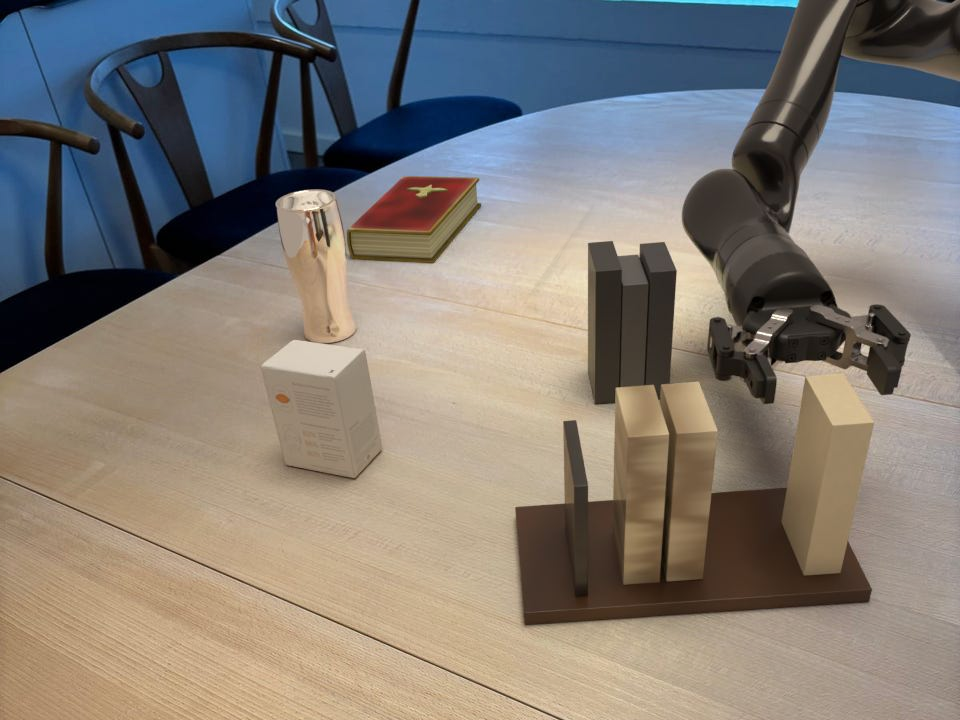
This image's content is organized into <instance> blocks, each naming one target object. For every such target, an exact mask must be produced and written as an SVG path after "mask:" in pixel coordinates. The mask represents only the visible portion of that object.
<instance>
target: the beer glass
mask: <svg viewBox="0 0 960 720" xmlns="http://www.w3.org/2000/svg"><path fill="white" fill-rule="evenodd" d="M275 208H276V217H277V223H278V231H279V237H280V242H281V243H280V244H281V248H282V251H283V252H282V253H283V255H284V259H285V261H286V265H287V268H288V271H289V273H290V276H291V279H292V281H293V283H294V286H295V289H296V291H297V294H298V297H299V299H300V304H301V308H302V313H303V335H304V337H305V339H306V340H307V341H308V342H314V343H322V344H332V343H338V342H341V341H344V340H346V339H349V338H350V337H351V336H353V335H354V334H355V332H356V330H357V326H356V322H355V319H354V316H353V314H352V312H351V308H350V305H349V300H348V291H347V290H348V286H347V284H348V283H347V282H348V281H347V279H348V274H347V273H348V272H347V271H348V269H347V268H348V267H347V266H348V265H347V263H348V260H347V258H348V257H347V244H346V243H347V242H346V235H345V230H344V225H343V220H342V216H341V212H340V208H339V203H338V200H337V194H336V193H334V192H332V191H331V190H327V189H318V188H317V189H315V188H314V189H303V190H298V191H293V192H289V193H288V194H285V195H283V196H281V197H279V198H278V199H277V200H276V201H275Z"/></svg>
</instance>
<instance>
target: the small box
mask: <svg viewBox="0 0 960 720" xmlns="http://www.w3.org/2000/svg"><path fill="white" fill-rule="evenodd" d="M260 370H261V371H260V372H261V374H262V378H263V382H264V386H265V390H266V394H267V398H268V403H269V406H270V410H271V414H272V418H273V422H274V425H275V430H276V433H277V437H278V441H279V445H280V448H281V454H282V456H283V461H284V464H285V465H286V466H290V467H295V468H301V469H304V470H309V471H310V470H311V471H315V472H320V473H324V474H330V475H336V476H341V477H345V478H346V477H347V478H350V479H356V478H357V477H358V476H359V475H360V474H361V473H362V472H363V470H364V469H365V468H366V467H367V466H368V465H369V464H370V463H371V462H372V460H374V458H375V457H376V456H377V455H379V453H380V452H381V451H382V450H383V443H382V436H381V431H380V425H379V419H378V415H377V409H376V403H375V398H374V394H373V387H372V381H371V374H370V370H369V364H368V359H367V354H366V350H365V348H357V347H349V346H342V345H335V344H330V343H315V342H312V341H308V340H299V339H292V340H291V341H290V342H288V343H287V344H285V345H284V346H283V347H282V348H281V349H279V350H278V351H277V352H276V353H274V354H273V355H272V356H271V357H269V358H268V359H267V360H266V361H265V362H263V363H262V364H260Z"/></svg>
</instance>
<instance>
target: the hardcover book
mask: <svg viewBox="0 0 960 720" xmlns="http://www.w3.org/2000/svg"><path fill="white" fill-rule="evenodd" d="M479 182H480V177H467V176H466V177H465V176H428V175H427V176H426V175H420V176H419V175H403V176H402V177H401V178H400V179H399V180H398V181H397V182H396V183H395V184H394V185H393V186H391V188H390V189H388V191H386V192H385V194H383V195H382V196H381V197H380V198H379V199H378V200H376V202H374V204H373V205H372V206H370V208H369V209H367V210H366V211H365V212H364V213H363V214H362V215H361V216H360V217H359V218H358V219H356V221H354V223H353V224H352V225H351V226H349V228H347V230H346V243H347V244H346V246H347V249H348V252H349V255H350V257H351V259H352V260H364V261H365V260H366V261H382V262H383V261H384V262H385V261H386V262H404V263H405V262H407V263H408V262H410V263H425V264H426V263H428V264H435V262H436V261H437V260H438V258H439V257H441V255H442V254H443V252H444V251H445V250H446V249H447V248H448V246H450V244H451V243H452V242H453V240H454V239H455V238H456V237H457V236H458V235H459V233H461V231H463V229H464V227H465V226H466V225H467V224H468V223H469V221H470V220H471V219H472V218H473V217H474V215H475V214H476V213H477V212H478V211H479V209H480V208H481V207H482V203H481V202H478V190H477V189H478V188H477V184H478V183H479Z"/></svg>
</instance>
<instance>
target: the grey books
mask: <svg viewBox="0 0 960 720" xmlns="http://www.w3.org/2000/svg"><path fill="white" fill-rule="evenodd" d="M677 273H678V270H677V268H676V266H675V263H674V261H673V258H672V256H671V254H670V251H669V249H668V246H667V244H666V242H665V241H659V242H657V241H656V242H647V243H640V244H639V254H628V255H627V254H626V255H618V252H617V250H616V247H615V244H614V241H613V240H606V241H595V242H594V241H593V242H592V241H591V242H587V374H588V379H589V384H590V389H591V393H592V396H593V402H594V404H595V405H602V404H615V393H616V388H618V387H631V386H644V385H654V387H655V390H656V394H657V397H658V400H660V392H661V385H662V384H671V383H670V382H671V368H672V353H673V352H672V351H673V336H674V321H675V320H674V319H675V307H676V306H675V305H676V288H677Z"/></svg>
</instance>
